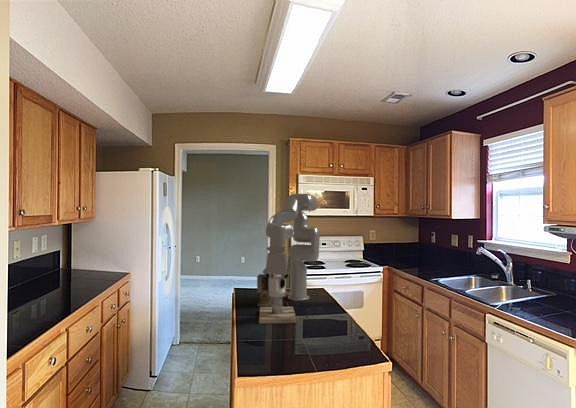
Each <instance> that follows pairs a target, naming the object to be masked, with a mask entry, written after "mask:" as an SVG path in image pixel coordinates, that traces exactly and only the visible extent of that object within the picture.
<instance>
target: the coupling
mask: <svg viewBox="0 0 576 408" xmlns="http://www.w3.org/2000/svg"><path fill="white" fill-rule="evenodd" d="M286 279H287V278H286ZM286 279H285V286H284V288H281V280H282V276H281V274H275V276H274V277H271V278H269V296H270V297H282V298H284V297H286V295H290V292H288V291H286V285H287V284H286V282H287V281H286Z"/></svg>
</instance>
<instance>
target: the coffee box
mask: <svg viewBox="0 0 576 408" xmlns="http://www.w3.org/2000/svg"><path fill="white" fill-rule="evenodd" d="M274 276H276V274H273V277H274ZM256 291H257V293H256V296H257V297H256V300H257V302H256V304H257V305H256V306H257V307H272V297H270V296H269V278H268V277H267V276H266V275H265V274H264V273H261V274H260V273H259V274H258V275H257V277H256Z"/></svg>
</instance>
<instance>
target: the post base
mask: <svg viewBox="0 0 576 408" xmlns="http://www.w3.org/2000/svg"><path fill="white" fill-rule="evenodd" d="M258 316H259V318H258V324H263V325H264V324H297V317H296V316H297V315H296V311H295V309H294V306H283V297H272V306H259V315H258Z"/></svg>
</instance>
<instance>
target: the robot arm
mask: <svg viewBox="0 0 576 408" xmlns="http://www.w3.org/2000/svg"><path fill="white" fill-rule="evenodd" d="M318 207H319V203H318V199H317V196H314V195H312V194H310V193H292V194H290V195H288V197H287V198H286V201H285V204H284V206H283V209H281V210H279V211H277V212H276V213H275V214H273V215H272V216H271V217H270V218H269V221H268V223H267V225H266V229H265V235H266V236H267V237H268V238H269V246H268V247H266V250H267V251H268V253H267V255H266V265H265V266H266V267H265V268H264V269H263V271H262V274H265V275H266V276H267V277H268V278H271V277H273V275H281V276H282V280H281V288H284V286H285V279H287V278H288V277H290V290H289V291H290V295H288V296H287V299H288V300H290V301H294V302H295V301H296V302H298V301H301V302H303V301H307V300H309V299H310V296H309V295H308V294H307V293H308V292H307V287H308V285H307V284H308V283H307V280H308V279H307V277H308V276H307V275H308V274H307V273H308V271H307V266H306V264H305V263H304V262H317V261H318V260H319V257H320V256H319V254H320V239H321V238H320V236H321V235H320V230H319V228H318V227H316V226H309V218H308V216H307V214H306V213H305V211H307V212H308V211H309V212H313V211H316V210H317V208H318ZM291 221H293V225H292V224H289V223H288V222H291ZM291 238H292V239H293V241H295V242H297V243H298V244H292V245H291V246H290V247H289V249H288V254H287V252H286V240H287V239H288V240H290V239H291ZM299 243H300V244H299ZM301 243H306V244H301ZM307 243H310V244H307ZM287 255H289V260H288V256H287ZM288 261H290V267H289V263H288Z"/></svg>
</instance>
